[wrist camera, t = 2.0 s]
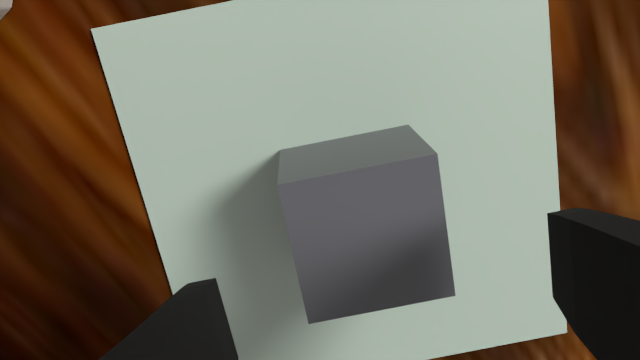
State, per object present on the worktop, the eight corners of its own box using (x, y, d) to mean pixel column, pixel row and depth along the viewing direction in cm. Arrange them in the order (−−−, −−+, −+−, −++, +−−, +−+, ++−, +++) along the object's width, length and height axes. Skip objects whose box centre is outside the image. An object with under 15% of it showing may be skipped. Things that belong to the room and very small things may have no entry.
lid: (556, 320, 20) (625, 400, 16) (209, 387, 20) (187, 483, 16) (532, -59, 16) (615, -82, 12) (100, 28, 16) (34, 34, 12)
